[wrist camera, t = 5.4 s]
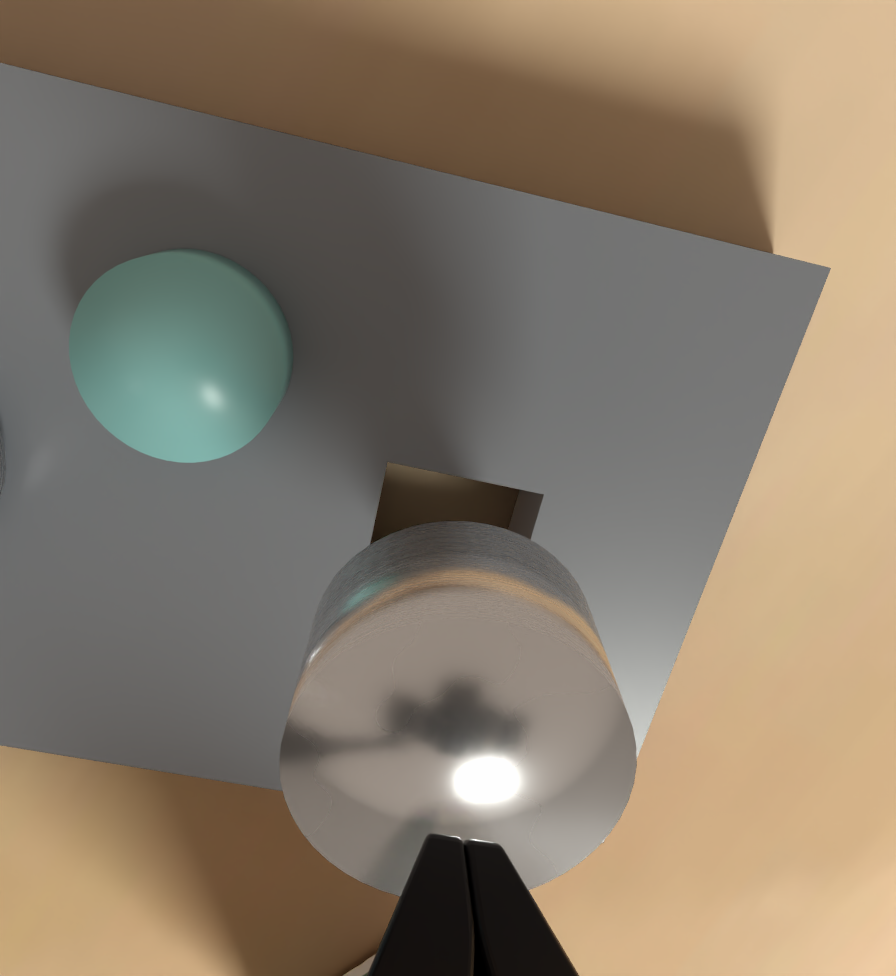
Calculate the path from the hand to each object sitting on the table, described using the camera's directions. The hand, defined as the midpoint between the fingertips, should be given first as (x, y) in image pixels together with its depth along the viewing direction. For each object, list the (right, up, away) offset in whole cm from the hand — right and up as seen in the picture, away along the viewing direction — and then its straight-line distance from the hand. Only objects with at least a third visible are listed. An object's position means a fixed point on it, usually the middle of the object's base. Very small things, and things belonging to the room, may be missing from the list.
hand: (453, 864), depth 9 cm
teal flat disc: (-5, +7, +6) cm, 10 cm away
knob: (0, +3, +7) cm, 8 cm away
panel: (-5, +5, +9) cm, 12 cm away
